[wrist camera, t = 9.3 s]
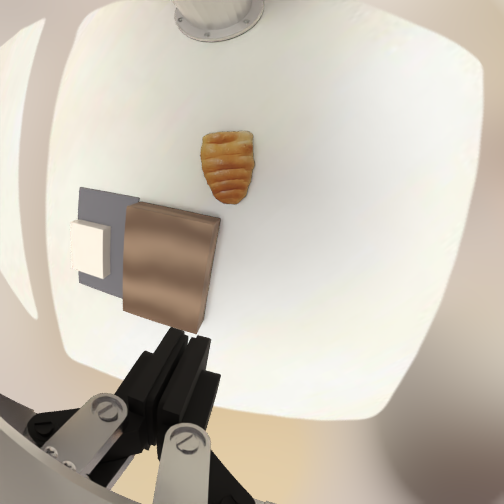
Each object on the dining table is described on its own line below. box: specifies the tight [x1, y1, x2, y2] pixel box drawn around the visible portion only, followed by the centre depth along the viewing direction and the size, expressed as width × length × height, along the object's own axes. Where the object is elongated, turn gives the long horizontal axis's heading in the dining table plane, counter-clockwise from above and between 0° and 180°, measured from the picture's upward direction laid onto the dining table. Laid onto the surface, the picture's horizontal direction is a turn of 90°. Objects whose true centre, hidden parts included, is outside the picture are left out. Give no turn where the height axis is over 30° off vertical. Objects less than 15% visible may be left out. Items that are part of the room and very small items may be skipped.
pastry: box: [200, 131, 255, 204], centre depth 32 cm, size 9×7×4 cm
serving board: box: [123, 202, 220, 334], centre depth 37 cm, size 16×12×4 cm
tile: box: [70, 219, 111, 279], centre depth 38 cm, size 8×7×2 cm
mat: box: [78, 187, 139, 299], centre depth 39 cm, size 17×12×1 cm
